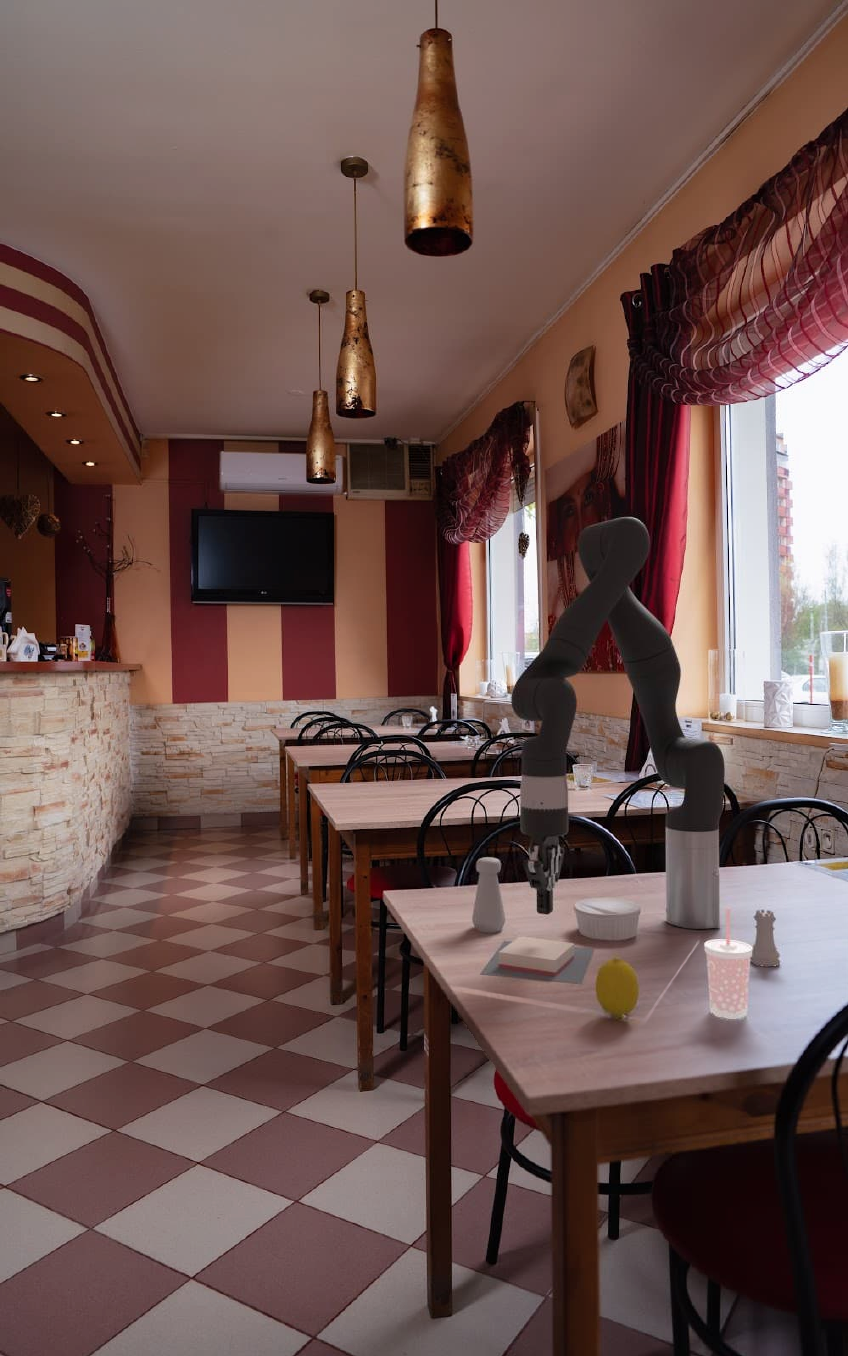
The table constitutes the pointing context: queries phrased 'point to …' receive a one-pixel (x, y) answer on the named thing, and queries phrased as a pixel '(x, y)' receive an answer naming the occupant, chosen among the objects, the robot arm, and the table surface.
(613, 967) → the lemon
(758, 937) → the rook chess piece
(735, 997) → the beverage cup
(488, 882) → the salt shaker
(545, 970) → the tile
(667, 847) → the robot arm
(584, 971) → the slate mat
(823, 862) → the table surface
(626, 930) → the ramekin
